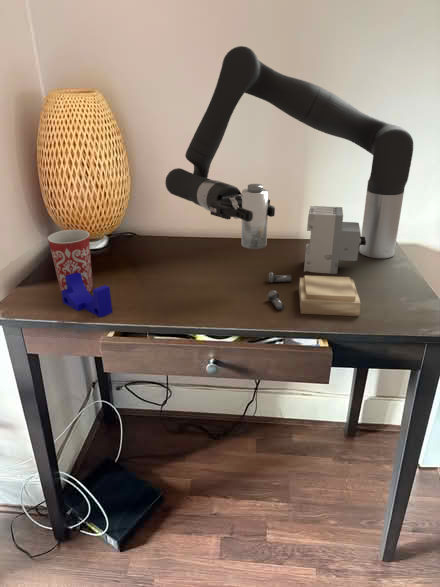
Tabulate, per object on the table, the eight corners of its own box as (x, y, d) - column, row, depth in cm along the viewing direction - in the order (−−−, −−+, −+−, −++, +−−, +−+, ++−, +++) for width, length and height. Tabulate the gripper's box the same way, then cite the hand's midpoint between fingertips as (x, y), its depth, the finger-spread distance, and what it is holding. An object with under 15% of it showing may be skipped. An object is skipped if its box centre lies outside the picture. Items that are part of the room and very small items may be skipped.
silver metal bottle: (242, 239, 109) (243, 182, 103) (267, 240, 108) (268, 182, 102) (240, 248, 104) (241, 188, 98) (266, 249, 103) (268, 188, 97)
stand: (298, 289, 111) (300, 273, 109) (351, 291, 109) (353, 275, 107) (300, 313, 100) (301, 296, 98) (359, 316, 98) (361, 298, 97)
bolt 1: (270, 284, 113) (270, 274, 112) (268, 280, 115) (269, 270, 114) (291, 283, 114) (292, 274, 113) (289, 279, 116) (290, 270, 115)
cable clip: (63, 303, 105) (59, 278, 103) (80, 296, 108) (77, 272, 106) (94, 320, 98) (90, 294, 95) (112, 312, 101) (109, 286, 98)
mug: (96, 297, 108) (88, 240, 102) (55, 300, 106) (44, 243, 100) (98, 275, 119) (91, 223, 113) (60, 278, 118) (51, 226, 112)
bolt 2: (267, 300, 105) (267, 290, 104) (277, 299, 106) (278, 289, 105) (275, 311, 101) (275, 301, 100) (285, 309, 101) (286, 299, 100)
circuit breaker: (362, 275, 117) (370, 216, 111) (303, 271, 120) (308, 213, 114) (360, 264, 124) (367, 208, 118) (305, 260, 127) (309, 205, 120)
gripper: (192, 186, 108) (234, 202, 96) (243, 178, 115) (289, 192, 103) (193, 218, 112) (234, 237, 99) (243, 208, 119) (287, 225, 106)
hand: (261, 214), depth 101 cm, fingers closed on silver metal bottle, 5 cm apart
